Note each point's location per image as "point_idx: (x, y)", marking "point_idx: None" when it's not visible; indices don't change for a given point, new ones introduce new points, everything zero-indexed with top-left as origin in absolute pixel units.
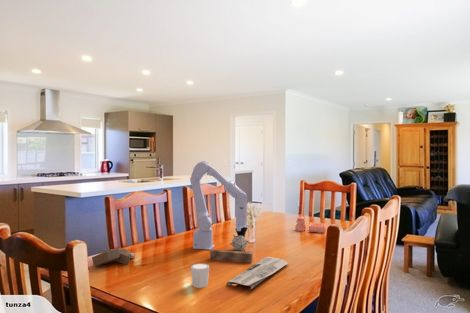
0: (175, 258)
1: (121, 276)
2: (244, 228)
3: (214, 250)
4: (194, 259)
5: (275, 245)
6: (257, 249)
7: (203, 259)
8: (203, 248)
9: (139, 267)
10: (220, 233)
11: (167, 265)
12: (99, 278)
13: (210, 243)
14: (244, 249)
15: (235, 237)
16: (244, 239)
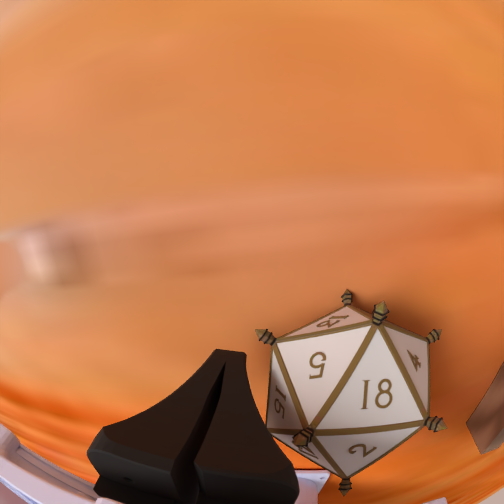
0: (425, 493)
1: (500, 482)
2: (179, 490)
3: (500, 439)
4: (456, 458)
5: (103, 28)
6: (273, 163)
7: (468, 438)
8: (320, 489)
9: (466, 495)
10: (24, 412)
11: (479, 473)
12: (493, 493)
13: (301, 497)
14: (346, 301)
15: (372, 460)
16: (388, 369)
